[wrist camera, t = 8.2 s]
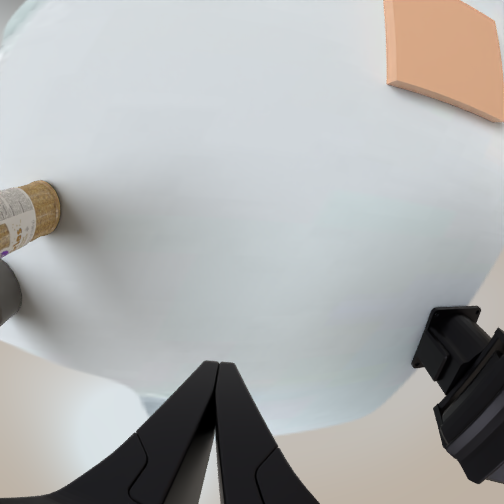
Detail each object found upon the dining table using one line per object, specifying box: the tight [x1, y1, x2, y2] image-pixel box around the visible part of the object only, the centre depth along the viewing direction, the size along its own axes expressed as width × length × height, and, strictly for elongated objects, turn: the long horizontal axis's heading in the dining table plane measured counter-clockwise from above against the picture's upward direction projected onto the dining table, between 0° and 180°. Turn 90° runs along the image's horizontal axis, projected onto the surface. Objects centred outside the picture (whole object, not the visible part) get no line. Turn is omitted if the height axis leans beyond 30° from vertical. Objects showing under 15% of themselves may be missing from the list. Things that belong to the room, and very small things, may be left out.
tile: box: [383, 0, 504, 122], centre depth 14 cm, size 2×10×11 cm
